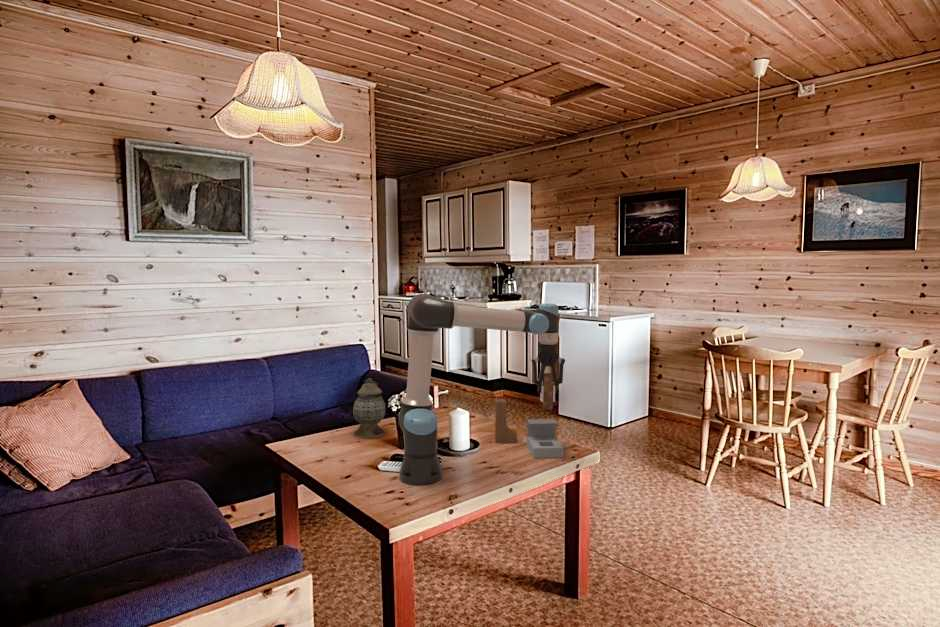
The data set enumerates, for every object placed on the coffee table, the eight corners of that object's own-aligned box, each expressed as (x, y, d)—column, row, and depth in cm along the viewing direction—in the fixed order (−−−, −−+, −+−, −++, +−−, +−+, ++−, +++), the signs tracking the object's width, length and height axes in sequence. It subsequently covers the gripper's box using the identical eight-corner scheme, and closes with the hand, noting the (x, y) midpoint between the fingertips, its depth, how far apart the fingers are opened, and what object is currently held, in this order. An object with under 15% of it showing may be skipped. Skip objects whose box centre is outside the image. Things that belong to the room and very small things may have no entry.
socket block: (533, 458, 224) (534, 431, 222) (526, 444, 239) (526, 419, 238) (563, 457, 224) (564, 430, 223) (554, 444, 240) (555, 418, 239)
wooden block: (515, 439, 246) (516, 399, 244) (516, 443, 241) (517, 401, 240) (495, 439, 246) (495, 398, 244) (495, 443, 241) (495, 401, 240)
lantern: (347, 433, 254) (346, 377, 252) (374, 426, 264) (373, 373, 261) (364, 440, 244) (363, 383, 241) (391, 433, 253) (391, 378, 251)
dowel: (543, 410, 225) (543, 375, 224) (541, 407, 229) (541, 373, 227) (553, 409, 225) (554, 374, 224) (551, 407, 229) (551, 372, 228)
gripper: (528, 344, 220) (528, 403, 222) (571, 344, 221) (570, 403, 224) (525, 341, 227) (524, 399, 230) (567, 341, 229) (566, 398, 231)
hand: (547, 400), depth 227 cm, fingers closed on dowel, 4 cm apart
